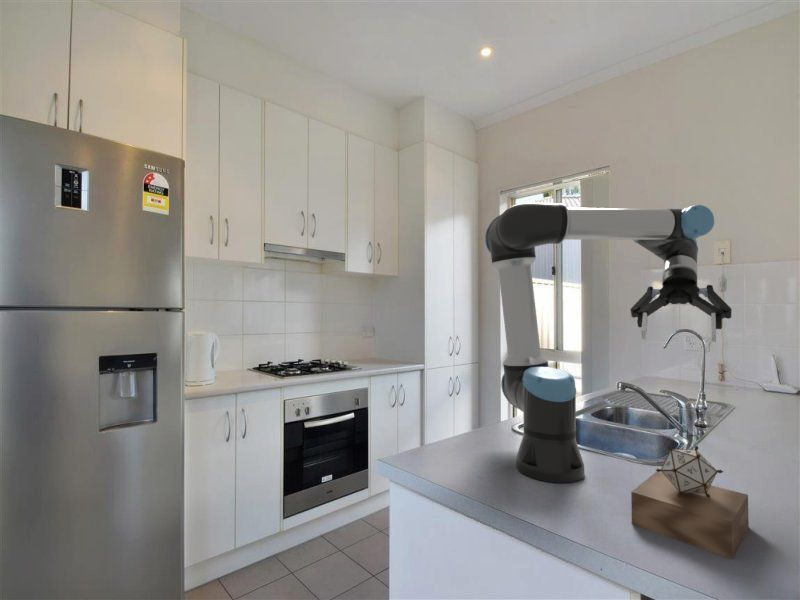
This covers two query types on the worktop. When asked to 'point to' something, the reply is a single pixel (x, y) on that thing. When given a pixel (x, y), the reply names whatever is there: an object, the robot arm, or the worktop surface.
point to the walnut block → (692, 515)
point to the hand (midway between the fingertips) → (677, 336)
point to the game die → (688, 471)
